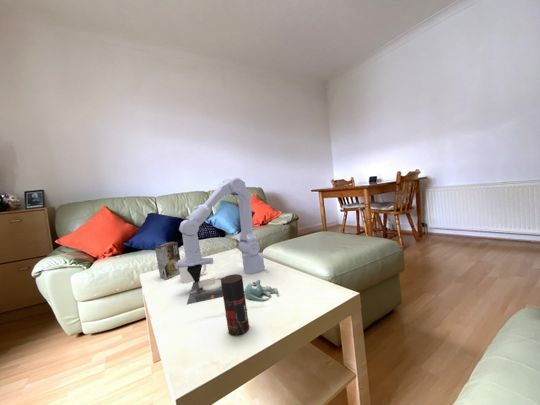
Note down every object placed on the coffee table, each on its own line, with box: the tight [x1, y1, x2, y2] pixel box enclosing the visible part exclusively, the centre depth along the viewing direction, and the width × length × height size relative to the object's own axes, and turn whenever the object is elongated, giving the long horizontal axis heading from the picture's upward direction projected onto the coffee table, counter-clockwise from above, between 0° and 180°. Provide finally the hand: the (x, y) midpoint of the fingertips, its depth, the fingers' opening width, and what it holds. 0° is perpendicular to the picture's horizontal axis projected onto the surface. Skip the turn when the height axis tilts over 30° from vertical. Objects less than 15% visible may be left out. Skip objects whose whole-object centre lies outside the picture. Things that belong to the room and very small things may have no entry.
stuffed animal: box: [244, 279, 279, 302], centre depth 84 cm, size 11×7×12 cm
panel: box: [186, 276, 225, 306], centre depth 94 cm, size 18×18×3 cm
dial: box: [192, 277, 222, 292], centre depth 93 cm, size 11×8×4 cm
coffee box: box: [154, 241, 182, 281], centre depth 119 cm, size 9×6×16 cm
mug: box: [178, 257, 207, 284], centre depth 109 cm, size 12×8×10 cm
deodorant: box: [221, 274, 250, 337], centre depth 67 cm, size 6×6×15 cm
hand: (197, 283), depth 94 cm, fingers closed, pressing on dial
